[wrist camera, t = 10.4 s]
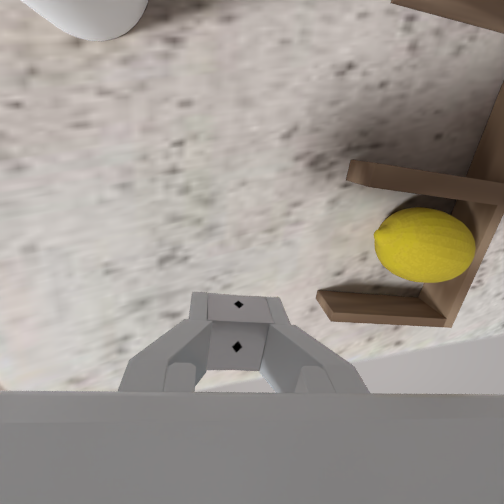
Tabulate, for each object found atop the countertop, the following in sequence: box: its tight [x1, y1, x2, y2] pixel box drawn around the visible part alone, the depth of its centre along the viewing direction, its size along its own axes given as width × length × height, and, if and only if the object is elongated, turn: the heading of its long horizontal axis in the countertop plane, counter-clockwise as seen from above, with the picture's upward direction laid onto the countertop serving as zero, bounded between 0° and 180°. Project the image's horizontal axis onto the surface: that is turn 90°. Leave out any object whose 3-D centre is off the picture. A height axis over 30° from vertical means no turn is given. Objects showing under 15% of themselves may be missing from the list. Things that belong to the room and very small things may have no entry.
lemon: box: [374, 207, 476, 283], centre depth 21 cm, size 6×6×8 cm
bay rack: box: [316, 0, 504, 328], centre depth 21 cm, size 22×14×4 cm, turn 172°
